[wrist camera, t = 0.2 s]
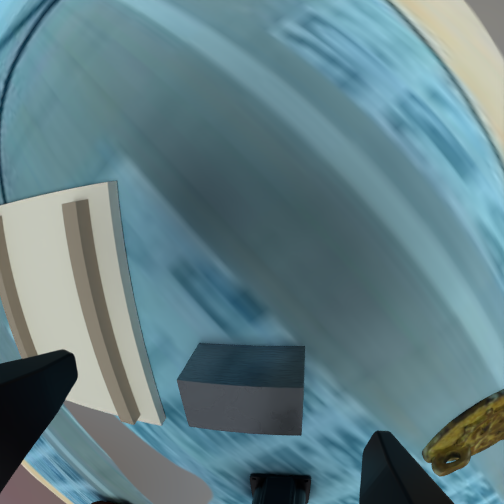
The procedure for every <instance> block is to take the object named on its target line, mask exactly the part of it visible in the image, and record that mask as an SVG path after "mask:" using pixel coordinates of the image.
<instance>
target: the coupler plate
mask: <svg viewBox="0 0 504 504" xmlns="http://www.w3.org/2000/svg"><path fill="white" fill-rule="evenodd" d="M0 296H1V300H2V303H3V307H4V310H5V313H6V316H7V319H8V322H9V325H10V328H11V331H12V334H13V337H14V339H15V342H16V345H17V347H18V350H19V353H20V355H21V357H22V359H23V358H28V357H32V356H36V355H40V354H44V353H49V352H53V351H57V350H61V349H64V350H67V351H69V352H71V353H73V354H74V356H75V359H76V365H77V370H78V378H77V381H76V383H75V384H74V386H73V387H72V389H71V391H70V392H69V394H68V396H67V397H66V399H65V400H68V401H71V402H74V403H77V404H80V405H83V406H86V407H89V408H92V409H96V410H100V411H102V412H106V413H110V414H113V415H117V416H119V418H120V420H121V422H125V423H129V424H133V425H134V424H135V423H136V421H141V422H146V423H151V424H155V425H160V426H162V424H163V422H164V420H165V419H166V416H165V413H164V410H163V407H162V404H161V401H160V398H159V394H158V391H157V388H156V384H155V381H154V378H153V374H152V371H151V367H150V363H149V360H148V356H147V352H146V348H145V344H144V340H143V336H142V332H141V328H140V323H139V319H138V315H137V310H136V305H135V301H134V296H133V291H132V285H131V280H130V275H129V269H128V263H127V257H126V251H125V245H124V238H123V231H122V224H121V216H120V208H119V199H118V189H117V181H111V182H104V183H99V184H93V185H88V186H83V187H78V188H73V189H68V190H63V191H58V192H54V193H49V194H45V195H40V196H36V197H32V198H28V199H24V200H20V201H16V202H12V203H8V204H4V205H0Z"/></svg>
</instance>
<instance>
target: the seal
mask: <svg viewBox="0 0 504 504" xmlns="http://www.w3.org/2000/svg"><path fill="white" fill-rule="evenodd" d="M500 440H504V389H503V390H501V391H499V392H497V393H495V394H493V395H491V396H489V397H487V398H485V399H484V400H482V401H480V402H479V403H477V404H476V405H474V406H473V407H471V408H470V409H468V410H466V411H465V412H463V413H462V414H461V415H459V416H458V417H456V418H455V419H453V420H452V421H451V422H450V423H448V424H447V425H446V426H445V427H444V428H443V429H442V430H441V431H440V432H439V433H438V434H437V435H436V436H435V437H434V438H433V439H432V440H431V441H430V442H429V443H428V445H427V446H426V447H425V448H424V450H423V451H422V455H423V458H424V460H425V461H426V462H428V463H432V469H433V471H434V473H435V474H437V475H438V476H445V475H448V474H450V473H452V472H454V471H456V470H458V469H461V468H463V467H465V466H466V465H467V464H468V462H469V461H470V458H471V456H472V455H475V454H477V453H479V452H481V451H483V450H485V449H487V448H489V447H490V446H492V445H494V444H495V443H497V442H498V441H500ZM453 460H456V461H454V462H451V463H447V464H446V462H447V461H453Z"/></svg>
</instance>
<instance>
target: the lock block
mask: <svg viewBox="0 0 504 504" xmlns="http://www.w3.org/2000/svg"><path fill="white" fill-rule="evenodd" d="M304 369H305V346H252V345H227V344H208V343H199V344H198V346H197V348H196V349H195V351H194V353H193V354H192V356H191V357H190V359H189V361H188V362H187V364H186V366H185V367H184V369H183V371H182V372H181V374H180V375H179V377H178V379H177V383H178V387H179V391H180V395H181V399H182V402H183V406H184V410H185V414H186V417H187V421H188V424H189V426H190V427H197V428H204V429H212V430H220V431H229V432H240V433H252V434H268V435H301V433H302V417H303V399H304Z"/></svg>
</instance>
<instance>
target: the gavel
mask: <svg viewBox="0 0 504 504" xmlns="http://www.w3.org/2000/svg"><path fill="white" fill-rule="evenodd" d="M91 504H114V503H111V502H105V501H96V502H93V503H91Z"/></svg>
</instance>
